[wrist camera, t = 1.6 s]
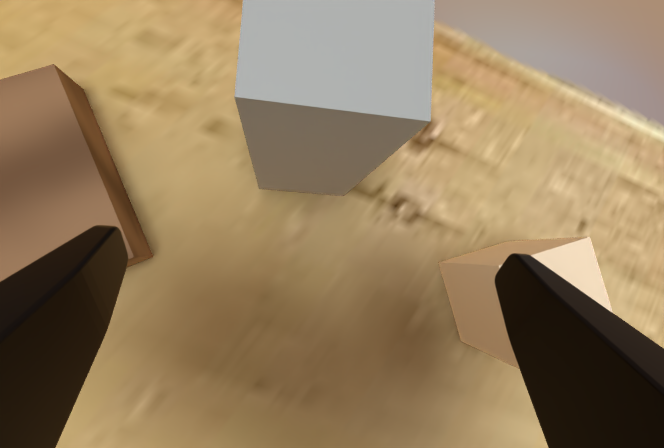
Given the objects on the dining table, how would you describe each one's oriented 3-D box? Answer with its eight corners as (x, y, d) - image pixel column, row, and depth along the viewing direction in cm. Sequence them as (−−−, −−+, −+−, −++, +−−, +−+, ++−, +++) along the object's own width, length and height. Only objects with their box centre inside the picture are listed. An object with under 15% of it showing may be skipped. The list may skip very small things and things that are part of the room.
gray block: (343, 195, 21) (430, 121, 9) (258, 188, 20) (234, 96, 8) (348, 115, 21) (436, -54, 10) (265, 105, 21) (251, -93, 9)
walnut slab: (155, 256, 19) (133, 257, 16) (-41, 335, 18) (-105, 352, 15) (87, 92, 20) (53, 64, 17) (-114, 155, 18) (-192, 135, 15)
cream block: (529, 316, 22) (620, 339, 16) (460, 340, 21) (530, 374, 16) (507, 241, 22) (589, 236, 17) (437, 262, 22) (498, 265, 16)
